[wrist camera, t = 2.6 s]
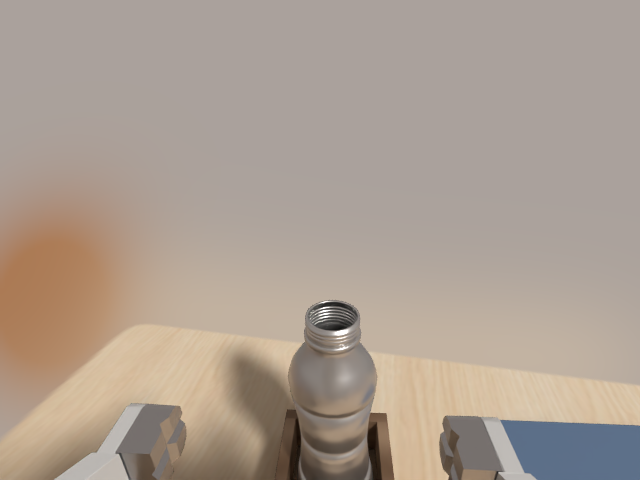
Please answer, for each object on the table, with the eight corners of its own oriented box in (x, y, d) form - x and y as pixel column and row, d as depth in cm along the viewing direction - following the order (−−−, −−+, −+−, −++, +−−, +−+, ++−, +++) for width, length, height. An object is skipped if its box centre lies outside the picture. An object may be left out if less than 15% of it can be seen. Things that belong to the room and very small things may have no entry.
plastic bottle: (372, 540, 29) (386, 351, 21) (291, 530, 30) (272, 344, 22) (371, 462, 35) (381, 291, 27) (303, 456, 36) (292, 287, 27)
